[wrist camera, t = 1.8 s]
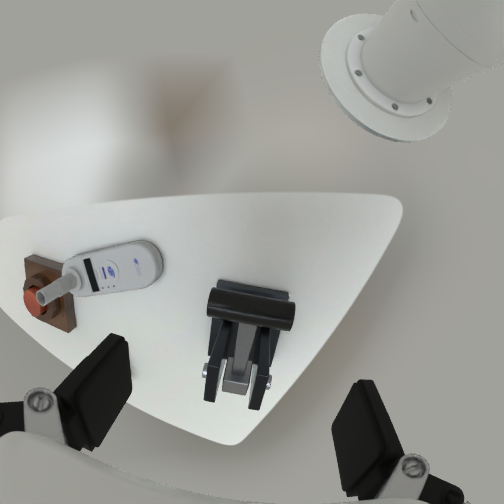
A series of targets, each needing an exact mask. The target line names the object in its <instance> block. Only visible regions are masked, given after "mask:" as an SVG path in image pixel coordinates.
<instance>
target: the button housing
mask: <svg viewBox="0 0 504 504" xmlns="http://www.w3.org/2000/svg"><path fill="white" fill-rule="evenodd" d="M24 263H25V273H26V280H25V283H24V287H23V291H24V292H25V291H26V290H28V289H30V288H32V287H34V286H35V287H38V288H39V289H42V288H44V287H46V286H48V285H49V284H51V283H52V282H53V281H55V280H57V279H59V278H60V277H62V268H63V264H60V263H57V262H54V261H51V260H48V259H45V258H42V257H39V256H36V255H31V256H29V257H26V258H24ZM32 316H33V315H32ZM34 317H36V318H37V319H39V320H41V321H43V322H46V323H48V324H50V325H52V326H54V327H56V328H58V329H61V330H63V331H65V332H67V333H70V332H71V331H72V330H73V329H74V328H76V321H75V313H74V304H73V294H71V293H70V292H67V293H66V294H64V295H63V296H61V297H57V298H56V299H54V300H53V301H51V302H50V303H48V304H47V310H46V311H45V312H43V313H42V314H40V315H39V316H34Z"/></svg>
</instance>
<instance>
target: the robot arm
mask: <svg viewBox="0 0 504 504" xmlns="http://www.w3.org/2000/svg"><path fill="white" fill-rule="evenodd" d="M345 58H346V66H347V69H348V72H349V75H350V77H351V79H352V81H353V83H354V84H355V86H356V87H357V88H358V90H359V91H360V92H361V93H362V95H363V96H364V97H365V98H366V99H367V100H368V101H370V102H371V103H372V104H373V105H375V106H376V107H378V108H379V109H381V110H383V111H384V112H387V113H389V114H392V115H394V116H399V117H409V118H411V117H416V116H419V115H422V114H424V113H426V112H427V111H429V110H430V109H431V108H432V107H433V106H434V104H435V102H436V100H437V98H438V93H439V92H440V91H442V90H444V89H446V88H448V87H450V86H452V85H455V84H457V83H459V82H461V81H464V80H466V79H468V78H471V77H473V76H475V75H477V74H480V73H482V72H485V71H487V70H489V69H492V68H494V67H497V66H499V65H502V64H504V0H395V2H394V3H393V4H392V6H391V7H390V8H389V10H387V13H386V14H385V15H384V17H383V18H382V19H381V21H380V22H379V24H378V25H377V26H376V27H370V28H366V29H363V30H361V31H359V32H357V33H356V34H355V35H354V36H353V37H352V39H351V40H350V42H349V44H348V47H347V49H346V57H345ZM356 75H358V76H356ZM392 107H393V108H392ZM131 392H132V380H131V371H130V360H129V348H128V342H127V341H125V338H124V337H122V336H119V335H116V334H113V333H111V334H109V335H108V336H107V337H106V338H105V339H104V340H103V341H102V342H101V343H100V344H99V345H98V347H97V348H96V349H95V350H94V351H93V352H92V353H91V354H90V355H89V356H87V357H86V358H84V359H83V361H82V362H81V363H80V364H79V365H78V366H77V367H76V368H75V369H74V370H73V371H72V372H71V373H70V374H69V375H68V377H67V378H66V379H65V380H64V381H63V382H62V383H61V384H60V385H59V386H58V387H57V388H56V390H55V391H54V392H52V391H51V390H49V389H46V388H34V389H32V390H30V391H29V392H27V393H26V395H25V397H24V401H19V402H7V403H6V402H5V403H0V504H271V503H258V502H249V501H240V500H232V499H226V498H220V497H213V496H209V495H204V494H198V493H194V492H190V491H186V490H182V489H178V488H174V487H170V486H167V485H163V484H160V483H156V482H153V481H150V480H147V479H144V478H141V477H139V476H136V475H133V474H130V473H128V472H125V471H123V470H120V469H118V468H115V467H112V466H110V465H108V464H105V463H103V462H101V461H99V460H96V459H94V458H92V457H90V456H88V455H86V454H84V453H82V452H79V451H80V450H81V449H82V448H85V449H87V450H89V451H93V449H94V448H95V447H99V446H100V444H101V443H102V441H103V439H104V438H105V436H106V434H107V432H108V431H109V429H110V428H111V426H112V424H113V423H114V421H115V419H116V418H117V416H118V414H119V413H120V411H121V409H122V408H123V406H124V405H125V403H126V401H127V400H128V398H129V396H130V395H131ZM331 430H332V436H333V441H334V446H335V451H336V457H337V462H338V468H339V473H340V479H341V485H342V490H343V491H346V494H347V497H353V496H358V500H359V501H354V502H344V503H329V504H470V503H469V502H468V501H467V502H466V503H464V495H463V492H462V490H461V489H460V488H459V487H457V486H455V485H453V484H450V483H448V482H446V481H444V480H441V479H439V478H437V477H435V476H433V475H431V474H429V470H430V468H429V464H428V462H427V461H426V459H425V458H424V457H422V456H420V455H417V454H407V455H405V454H404V452H403V449H402V446H401V444H400V441H399V439H398V436H397V434H396V432H395V429H394V427H393V424H392V422H391V420H390V417H389V415H388V413H387V411H386V408H385V406H384V404H383V402H382V399H381V397H380V395H379V393H378V390H377V388H376V386H375V384H374V382H373V380H361V379H360V380H358V381H357V383H354V384H353V386H352V388H351V390H350V392H349V394H348V396H347V398H346V399H345V401H344V403H343V405H342V407H341V409H340V411H339V413H338V414H337V416H336V418H335V420H334V422H333V424H332V429H331Z"/></svg>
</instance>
